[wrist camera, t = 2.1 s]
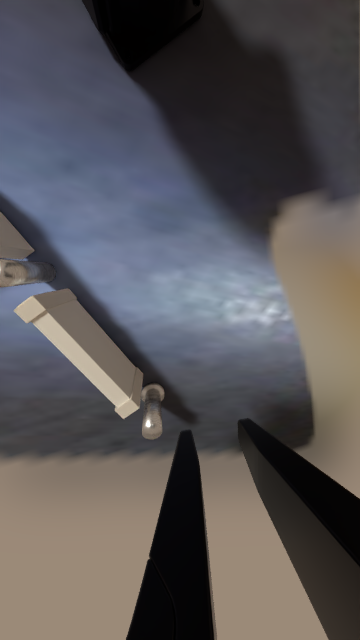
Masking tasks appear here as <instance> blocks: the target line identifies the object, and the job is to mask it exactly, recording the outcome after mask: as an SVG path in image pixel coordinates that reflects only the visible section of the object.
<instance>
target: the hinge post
mask: <svg viewBox="0 0 360 640" xmlns="http://www.w3.org/2000/svg"><path fill="white" fill-rule="evenodd" d="M55 278H56V270H55V268H54V266H53V265H51V264H50V263H47V262H34V261H19V260H4V259H0V287H9V286H17V285H26V284H35V283H43V282H51V281H53V280H54V279H55Z"/></svg>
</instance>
